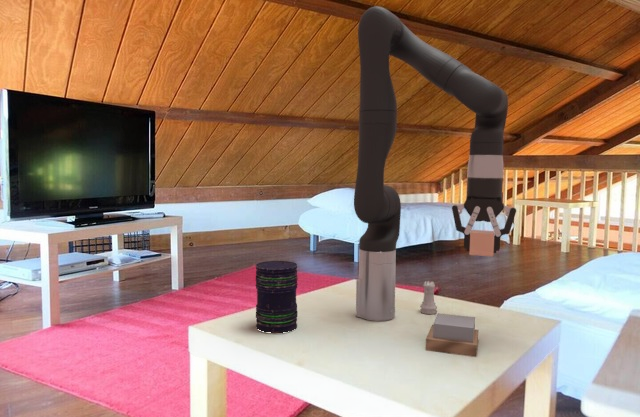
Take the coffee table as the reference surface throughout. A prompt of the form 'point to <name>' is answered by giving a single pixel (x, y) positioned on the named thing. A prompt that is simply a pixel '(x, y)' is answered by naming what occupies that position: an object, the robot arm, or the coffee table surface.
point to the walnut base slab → (452, 345)
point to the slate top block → (454, 327)
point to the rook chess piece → (428, 299)
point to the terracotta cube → (481, 243)
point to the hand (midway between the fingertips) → (481, 251)
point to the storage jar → (276, 296)
